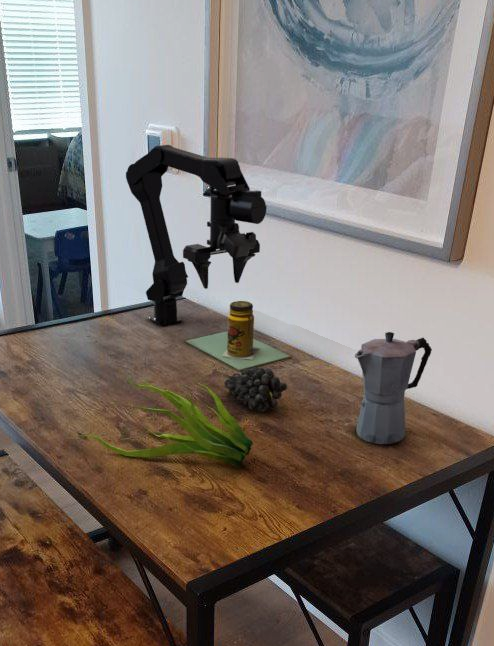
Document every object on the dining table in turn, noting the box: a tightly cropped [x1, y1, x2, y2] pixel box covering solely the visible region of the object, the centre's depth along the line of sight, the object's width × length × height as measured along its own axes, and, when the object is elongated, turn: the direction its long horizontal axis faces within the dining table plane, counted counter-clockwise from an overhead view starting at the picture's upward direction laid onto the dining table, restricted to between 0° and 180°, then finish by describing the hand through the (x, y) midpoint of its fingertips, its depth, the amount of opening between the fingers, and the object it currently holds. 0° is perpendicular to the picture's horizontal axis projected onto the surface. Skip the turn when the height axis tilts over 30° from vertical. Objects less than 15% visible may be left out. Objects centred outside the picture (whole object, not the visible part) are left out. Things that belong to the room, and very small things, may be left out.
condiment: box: [222, 300, 260, 360], centre depth 164 cm, size 7×8×12 cm
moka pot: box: [354, 331, 433, 445], centre depth 127 cm, size 10×15×20 cm, turn 113°
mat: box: [185, 330, 291, 372], centre depth 169 cm, size 22×15×1 cm
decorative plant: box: [65, 365, 254, 468], centre depth 121 cm, size 18×30×15 cm, turn 50°
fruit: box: [224, 366, 288, 413], centre depth 142 cm, size 9×8×15 cm
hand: (221, 285), depth 170 cm, fingers open, 9 cm apart
